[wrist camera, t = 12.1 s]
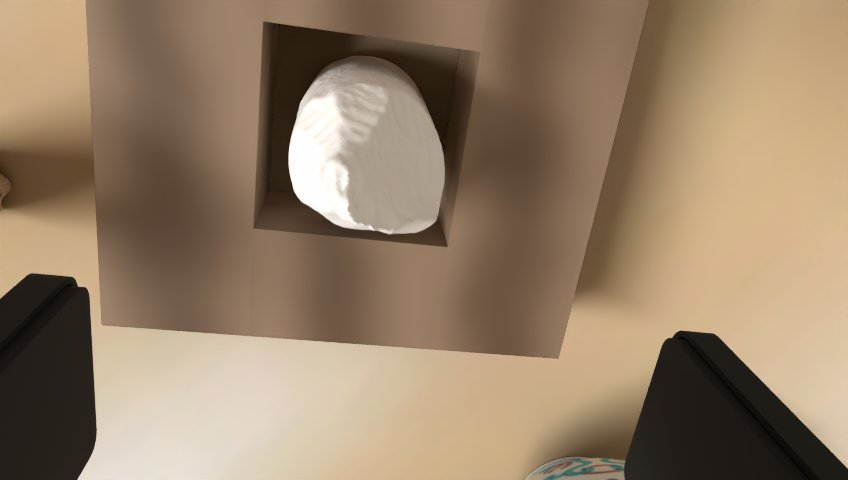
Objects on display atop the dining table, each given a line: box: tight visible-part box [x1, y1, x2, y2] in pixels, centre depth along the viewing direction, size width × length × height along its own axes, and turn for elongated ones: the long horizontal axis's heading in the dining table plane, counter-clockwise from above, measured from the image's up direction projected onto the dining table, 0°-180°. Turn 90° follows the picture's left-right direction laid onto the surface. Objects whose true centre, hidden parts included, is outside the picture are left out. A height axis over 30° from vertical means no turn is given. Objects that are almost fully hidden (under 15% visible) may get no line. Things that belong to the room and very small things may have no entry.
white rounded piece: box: [289, 56, 445, 234], centre depth 24 cm, size 6×12×6 cm
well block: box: [86, 0, 650, 359], centre depth 27 cm, size 20×18×5 cm
